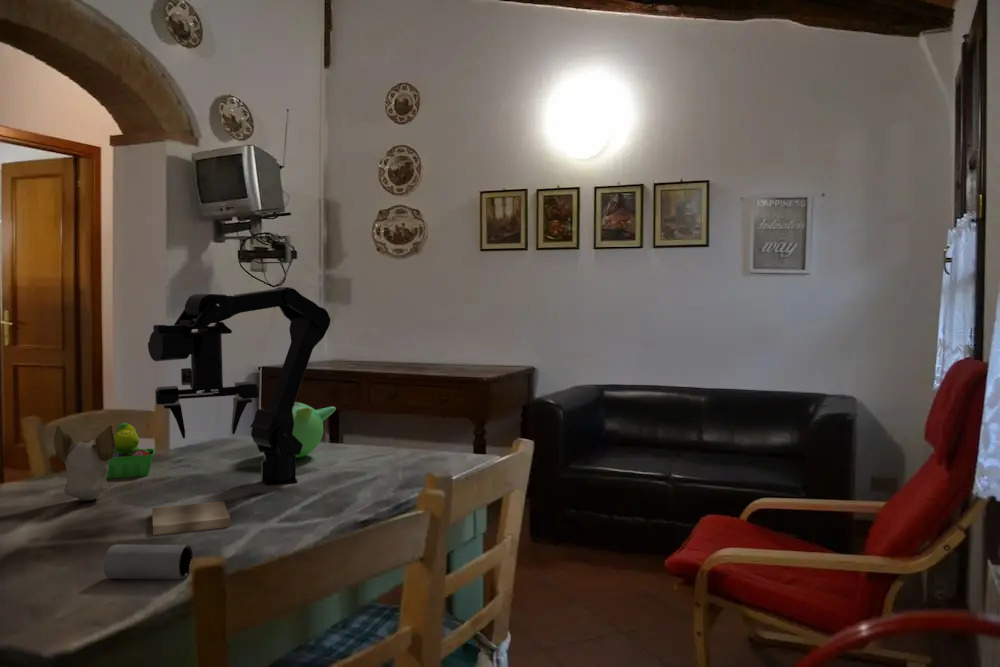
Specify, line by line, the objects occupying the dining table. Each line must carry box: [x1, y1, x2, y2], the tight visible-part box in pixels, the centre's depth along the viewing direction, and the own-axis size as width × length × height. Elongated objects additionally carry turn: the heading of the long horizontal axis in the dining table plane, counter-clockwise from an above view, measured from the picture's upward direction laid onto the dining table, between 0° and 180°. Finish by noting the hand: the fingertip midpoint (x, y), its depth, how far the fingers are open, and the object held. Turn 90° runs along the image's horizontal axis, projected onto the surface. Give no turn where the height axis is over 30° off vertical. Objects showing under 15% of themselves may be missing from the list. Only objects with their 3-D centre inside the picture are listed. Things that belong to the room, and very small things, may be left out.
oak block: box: [151, 500, 232, 536], centre depth 130 cm, size 12×12×2 cm
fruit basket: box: [106, 422, 155, 479], centre depth 164 cm, size 11×9×11 cm
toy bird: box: [292, 401, 337, 459], centre depth 184 cm, size 18×17×15 cm
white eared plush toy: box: [53, 424, 116, 502], centre depth 142 cm, size 11×9×15 cm
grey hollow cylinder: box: [103, 543, 194, 580], centre depth 103 cm, size 4×4×10 cm
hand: (208, 435), depth 148 cm, fingers open, 9 cm apart
